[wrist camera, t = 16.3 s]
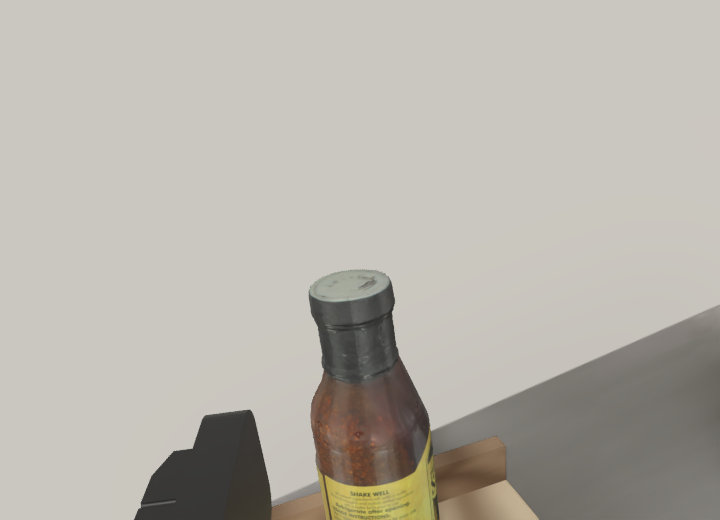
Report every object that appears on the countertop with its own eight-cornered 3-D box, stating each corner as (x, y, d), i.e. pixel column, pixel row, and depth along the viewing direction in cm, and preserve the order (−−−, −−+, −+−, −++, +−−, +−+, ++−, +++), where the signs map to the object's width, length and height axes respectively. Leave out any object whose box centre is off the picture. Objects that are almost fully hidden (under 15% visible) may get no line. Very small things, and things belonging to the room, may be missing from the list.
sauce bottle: (468, 606, 33) (452, 286, 26) (375, 668, 30) (328, 330, 23) (404, 532, 38) (376, 250, 32) (320, 579, 36) (269, 282, 29)
